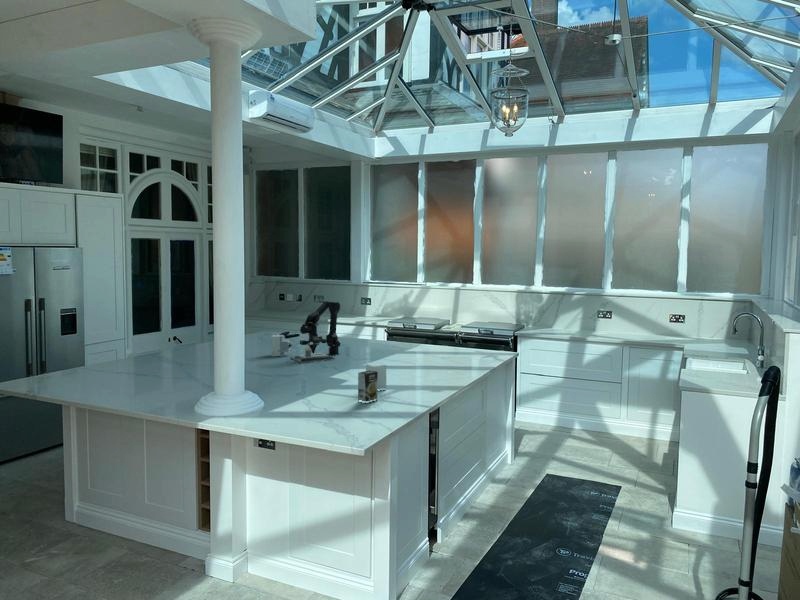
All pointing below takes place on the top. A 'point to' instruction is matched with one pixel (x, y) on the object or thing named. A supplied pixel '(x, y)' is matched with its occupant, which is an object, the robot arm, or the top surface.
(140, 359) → the top surface
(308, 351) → the breaker lever
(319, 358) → the gray flat tray
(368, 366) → the supplement box
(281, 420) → the top surface
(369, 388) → the coffee box
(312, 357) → the breaker panel
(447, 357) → the top surface
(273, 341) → the circuit breaker
